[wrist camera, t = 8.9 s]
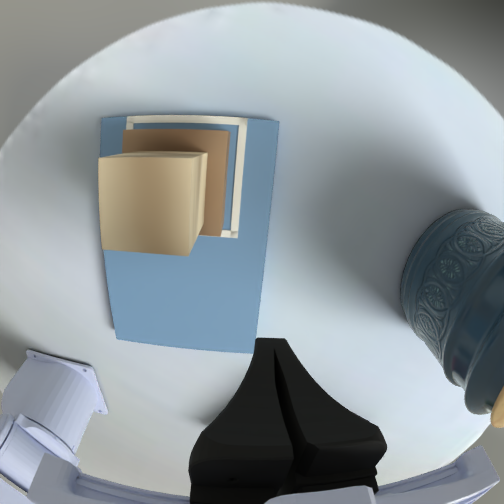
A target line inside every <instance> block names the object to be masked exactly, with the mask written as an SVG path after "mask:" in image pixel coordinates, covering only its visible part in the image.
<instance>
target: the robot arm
mask: <svg viewBox="0 0 504 504" xmlns="http://www.w3.org/2000/svg"><path fill="white" fill-rule="evenodd" d="M26 355H27V357H28V358H27V359H26V360H25V362H24V363H23V364H22V366H21V367H20V368H19V370H18V371H17V373H16V374H15V375H14V377H13V378H12V379H11V381H10V382H9V384H8V385H7V387H6V388H5V390H4V393H3V396H2V403H1V404H2V405H1V407H2V412H3V414H1V415H0V474H2V475H3V476H4V477H6V478H7V479H8V480H10V481H11V482H13V483H14V484H15V485H17V486H18V487H19V488H21V489H23V490H24V491H25V492H27V497H26V496H24V495H23V494H21V493H20V492H19V491H17V490H16V489H14V488H13V487H11V486H10V485H8V484H7V483H6V482H5V481H3V480H2V479H1V478H0V504H472V503H473V502H474V501H476V500H477V499H478V498H480V496H482V495H483V494H485V493H486V492H487V491H488V490H490V489H491V488H492V487H493V486H494V485H496V484H497V483H498V482H499V481H500V478H499V476H498V475H497V472H496V471H495V469H494V467H493V465H492V463H491V461H490V459H489V457H488V455H487V454H486V452H485V450H484V448H483V447H482V445H480V446H478V447H476V448H473V449H471V450H469V451H467V452H465V453H463V454H462V455H461V456H460V457H459V458H458V459H457V460H456V461H455V462H454V463H452V464H449V465H447V466H444V467H441V468H439V469H436V470H433V471H430V472H427V473H424V474H421V475H418V476H415V477H412V478H408V479H405V480H401V481H398V482H394V483H390V484H386V485H382V486H378V485H377V482H376V478H375V476H376V475H377V470H376V467H375V466H376V465H377V463H378V462H379V461H380V460H381V458H382V457H383V456H384V454H385V452H386V450H387V444H386V442H385V439H384V437H383V435H382V433H381V431H380V429H379V427H378V426H376V425H374V424H372V423H370V422H368V421H366V420H364V419H362V418H360V417H359V416H357V415H355V414H354V413H352V412H351V411H349V410H348V409H346V408H345V407H343V406H342V405H341V404H339V403H338V402H337V401H336V400H334V399H333V398H332V397H331V396H330V395H328V394H327V393H326V392H325V391H324V390H323V389H322V388H321V387H320V386H319V385H318V384H317V382H316V381H315V380H314V379H313V378H312V377H311V376H310V374H309V373H308V372H307V371H306V369H305V368H304V367H303V365H302V364H301V362H300V361H299V360H298V358H297V357H296V355H295V354H294V352H293V350H292V349H291V347H290V346H289V344H288V342H287V340H286V339H285V338H257V339H255V345H254V354H253V357H252V360H251V363H250V366H249V368H248V371H247V373H246V375H245V377H244V379H243V381H242V383H241V385H240V387H239V388H238V390H237V392H236V393H235V395H234V396H233V398H232V399H231V401H230V402H229V403H228V405H227V406H226V407H225V409H224V410H223V411H222V412H221V413H220V414H219V415H218V417H217V418H216V419H215V420H214V421H213V422H212V423H211V424H210V425H209V426H208V427H207V428H205V429H204V430H203V431H202V432H201V434H200V436H199V438H198V439H197V441H196V443H195V445H194V447H193V450H192V452H191V455H190V459H189V470H188V471H189V476H190V480H191V491H190V497H188V496H180V495H173V494H166V493H160V492H155V491H149V490H144V489H140V488H135V487H131V486H126V485H122V484H118V483H114V482H111V481H107V480H104V479H100V478H97V477H93V476H90V475H87V474H84V473H82V471H81V469H80V468H79V467H77V466H78V463H79V460H80V459H79V458H77V457H76V456H75V454H76V451H77V449H78V446H79V444H80V441H81V439H82V436H83V434H84V432H85V429H86V427H87V424H88V422H89V420H90V417H91V415H92V413H93V412H97V413H101V414H107V413H108V409H107V407H106V404H105V401H104V399H103V396H102V393H101V390H100V387H99V384H98V381H97V378H96V375H95V372H94V369H93V368H92V367H91V366H88V365H84V364H80V363H76V362H71V361H68V360H64V359H60V358H56V357H53V356H49V355H45V354H42V353H39V352H35V351H32V350H27V351H26Z"/></svg>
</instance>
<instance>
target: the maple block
mask: <svg viewBox="0 0 504 504" xmlns="http://www.w3.org/2000/svg"><path fill="white" fill-rule="evenodd" d="M207 156H208V153H207V152H181V151H135V152H129V153H123V154H117V155H112V156H106V157H101V158H99V160H98V184H99V214H100V231H101V243H102V249H103V250H115V251H127V252H139V253H151V254H164V255H176V256H189V254H190V252H191V250H192V248H193V246H194V243H195V241H196V239H197V237H198V235H199V232H200V230H201V228H202V226H203V224H204V207H205V188H206V171H207Z"/></svg>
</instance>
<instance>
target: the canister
mask: <svg viewBox="0 0 504 504" xmlns="http://www.w3.org/2000/svg"><path fill="white" fill-rule="evenodd" d="M401 303H402V308H403V311H404V313H405V315H406V319H407V321H408V323H409V325H410V327H411V328H412V330H413V331H414V332H415V334H416V335H417V336H418V337H419V338H420V339H421V340H422V341H424V342H425V344H426V345H427V347H428V348H429V349H430V351H431V352H432V353H433V355H434V356H435V358H436V359H437V360H438V362H439V363H440V365H441V366H442V367H443V370H444V374H445V376H446V378H447V379H448V380H449V382H451V383H452V384H454V385H455V386H459V387H462V388H463V389H464V391H465V396H464V400H465V405H466V408H467V410H468V411H470V412H471V413H473V414H477V415H482V414H488V413H491V418H490V419H491V424H492V425H493V426H494V427H496V428H501V427H504V222H501V221H500V220H499V219H498V218H497V217H495V216H494V215H492V214H489V213H487V212H484V211H481V210H471V209H460V210H455V211H452V212H450V213H448V214H446V215H444V216H442V217H441V218H439V219H438V220H437V221H436V222H434V223H433V224H432V225H431V226H430V227H429V228H428V229H427V230H426V231H425V232H424V234H423V235H422V236H421V238H420V239H419V240H418V242H417V243H416V245H415V247H414V248H413V250H412V252H411V254H410V256H409V258H408V261H407V263H406V266H405V269H404V272H403V277H402V282H401Z"/></svg>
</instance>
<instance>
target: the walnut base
mask: <svg viewBox="0 0 504 504" xmlns="http://www.w3.org/2000/svg"><path fill="white" fill-rule="evenodd" d="M230 133H231V132H229V131H221V130H198V129H131V130H123V142H122V154H123V153H129V152H135V151H181V152H207V153H208V156H207V171H206V188H205V207H204V224H203V226H202V228H201V230H200V232H199V235H202V236H217V237H221V233H222V228H223V224H224V213H225V198H226V184H227V170H228V157H229V145H230Z"/></svg>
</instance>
